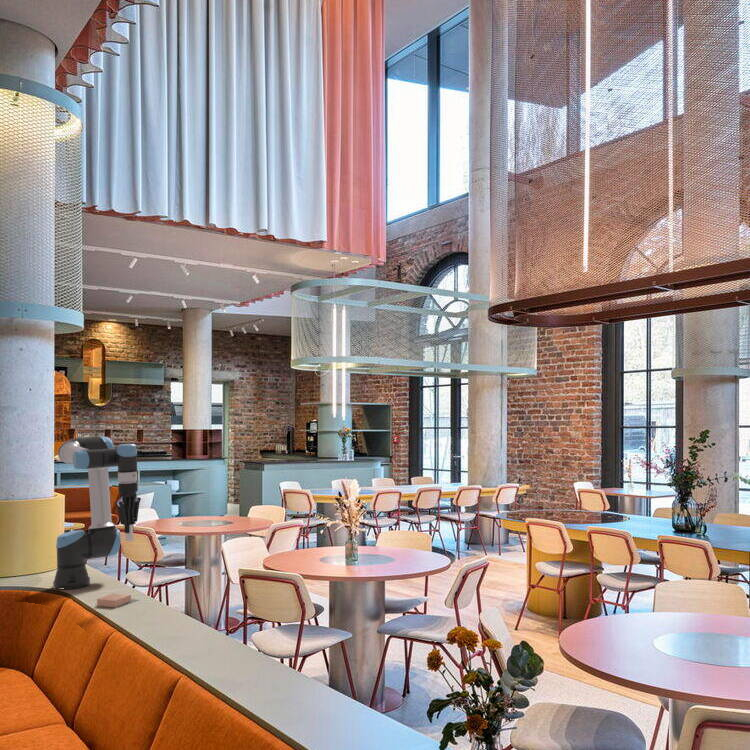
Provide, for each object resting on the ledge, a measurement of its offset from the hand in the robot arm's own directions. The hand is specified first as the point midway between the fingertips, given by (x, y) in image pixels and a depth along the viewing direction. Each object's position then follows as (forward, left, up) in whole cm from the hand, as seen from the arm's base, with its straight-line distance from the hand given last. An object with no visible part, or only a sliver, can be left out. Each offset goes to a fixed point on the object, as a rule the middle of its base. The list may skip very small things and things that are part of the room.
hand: (129, 540), depth 320 cm
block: (+6, 0, -21) cm, 22 cm away
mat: (+8, 0, -23) cm, 25 cm away
